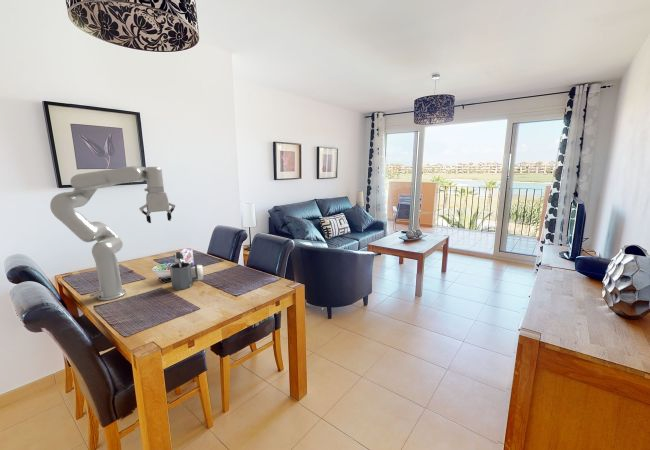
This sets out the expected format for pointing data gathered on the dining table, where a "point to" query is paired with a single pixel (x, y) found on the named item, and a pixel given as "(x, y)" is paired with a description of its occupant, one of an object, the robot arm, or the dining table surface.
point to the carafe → (182, 276)
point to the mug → (199, 271)
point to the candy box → (186, 256)
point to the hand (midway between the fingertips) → (159, 221)
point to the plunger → (179, 255)
